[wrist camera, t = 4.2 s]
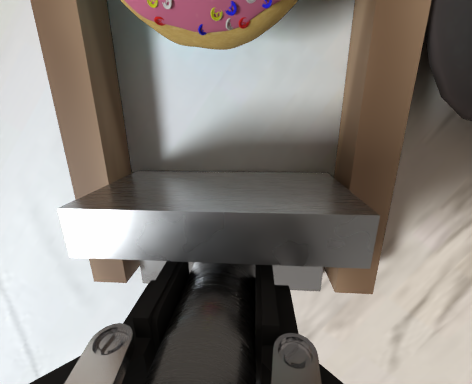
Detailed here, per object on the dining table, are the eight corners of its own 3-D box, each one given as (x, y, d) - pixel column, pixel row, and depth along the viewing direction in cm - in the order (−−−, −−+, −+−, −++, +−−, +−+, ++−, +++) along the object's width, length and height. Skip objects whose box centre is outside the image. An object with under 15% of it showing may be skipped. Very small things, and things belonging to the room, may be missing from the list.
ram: (327, 172, 13) (515, 324, 4) (315, 278, 16) (415, 550, 6) (136, 171, 14) (-117, 290, 5) (150, 271, 16) (-2, 499, 7)
